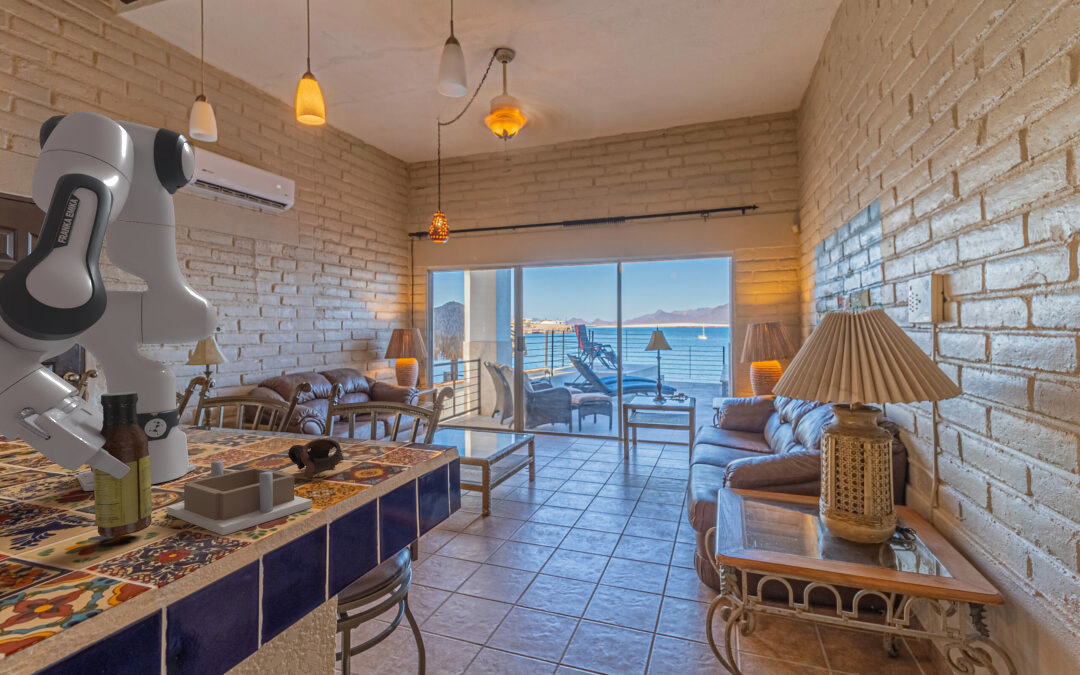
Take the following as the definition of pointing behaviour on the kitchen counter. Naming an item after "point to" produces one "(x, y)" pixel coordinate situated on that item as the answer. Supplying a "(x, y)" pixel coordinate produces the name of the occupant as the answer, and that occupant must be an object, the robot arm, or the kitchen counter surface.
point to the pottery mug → (315, 456)
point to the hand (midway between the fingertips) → (129, 468)
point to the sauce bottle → (129, 497)
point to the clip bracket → (238, 499)
